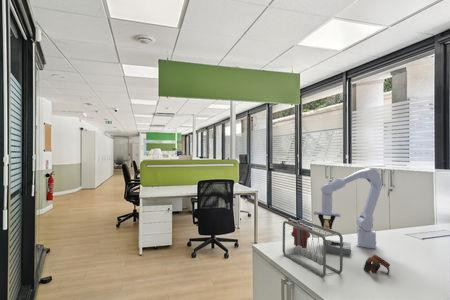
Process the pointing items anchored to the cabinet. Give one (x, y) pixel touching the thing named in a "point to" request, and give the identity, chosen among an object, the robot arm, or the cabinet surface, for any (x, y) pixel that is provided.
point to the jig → (337, 247)
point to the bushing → (326, 223)
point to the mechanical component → (300, 236)
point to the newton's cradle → (309, 253)
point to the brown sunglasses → (375, 264)
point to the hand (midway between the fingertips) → (326, 228)
